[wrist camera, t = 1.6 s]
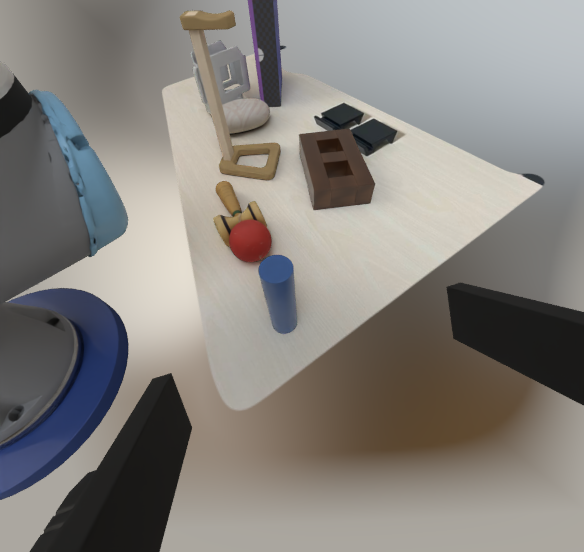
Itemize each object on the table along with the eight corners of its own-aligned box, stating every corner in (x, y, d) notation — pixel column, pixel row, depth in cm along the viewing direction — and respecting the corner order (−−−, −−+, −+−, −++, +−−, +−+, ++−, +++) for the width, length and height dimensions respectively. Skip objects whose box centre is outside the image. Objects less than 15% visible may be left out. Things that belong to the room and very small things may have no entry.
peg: (273, 335, 34) (259, 285, 24) (271, 312, 35) (257, 256, 25) (298, 332, 34) (295, 280, 24) (295, 309, 35) (291, 252, 25)
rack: (313, 210, 45) (314, 190, 42) (299, 153, 55) (299, 134, 51) (370, 203, 46) (375, 183, 42) (346, 148, 55) (349, 128, 52)
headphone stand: (273, 180, 50) (255, 24, 32) (217, 178, 51) (167, 26, 33) (281, 148, 56) (269, 0, 38) (230, 147, 57) (194, 2, 39)
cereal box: (265, 77, 76) (250, -58, 56) (281, 76, 76) (273, -59, 56) (261, 107, 66) (242, -43, 46) (280, 106, 66) (269, -45, 46)
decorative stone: (264, 112, 65) (261, 89, 61) (276, 130, 60) (274, 106, 56) (212, 124, 63) (205, 101, 59) (220, 144, 58) (214, 120, 54)
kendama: (203, 210, 48) (230, 276, 37) (197, 176, 44) (225, 240, 33) (245, 203, 51) (281, 263, 40) (243, 170, 47) (283, 228, 35)
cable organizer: (254, 103, 68) (245, 42, 58) (215, 123, 63) (198, 60, 53) (237, 95, 70) (226, 36, 60) (198, 114, 66) (179, 53, 56)
